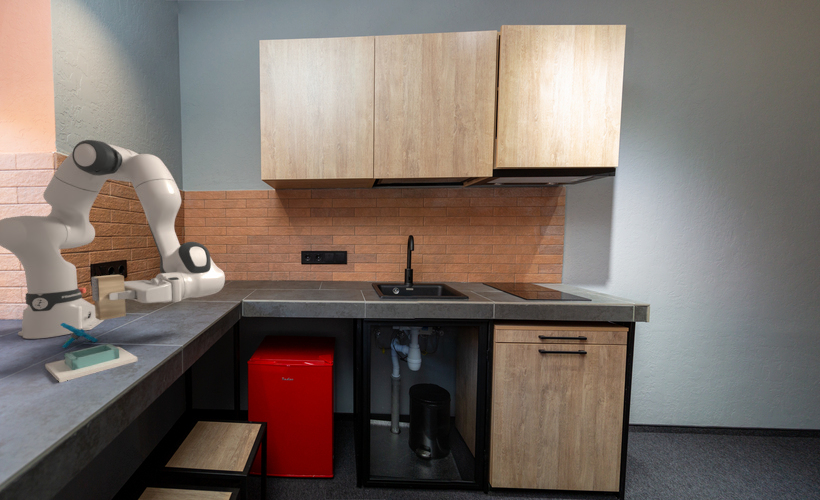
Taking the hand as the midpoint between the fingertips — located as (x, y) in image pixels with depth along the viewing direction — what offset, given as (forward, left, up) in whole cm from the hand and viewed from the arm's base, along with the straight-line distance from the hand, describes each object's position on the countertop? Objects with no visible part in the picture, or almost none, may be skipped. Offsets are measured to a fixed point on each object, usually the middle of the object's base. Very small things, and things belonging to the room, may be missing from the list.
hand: (105, 295), depth 82 cm
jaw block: (-1, +1, -6) cm, 6 cm away
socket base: (+2, -2, -18) cm, 18 cm away
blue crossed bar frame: (-16, -15, -18) cm, 28 cm away
